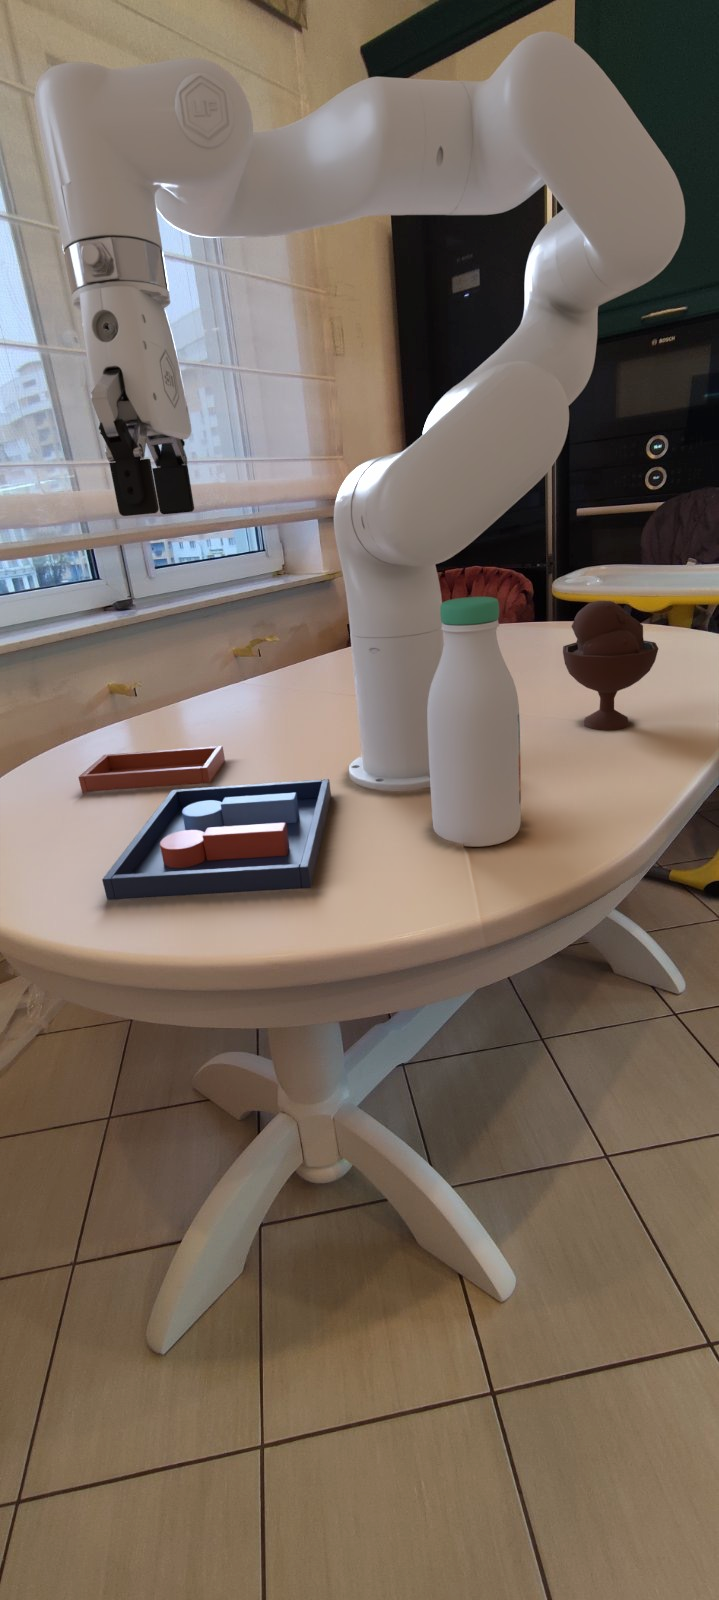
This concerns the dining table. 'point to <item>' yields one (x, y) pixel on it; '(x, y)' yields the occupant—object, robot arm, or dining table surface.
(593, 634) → the ice cream bowl
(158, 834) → the navy tray
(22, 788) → the dining table surface
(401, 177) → the robot arm
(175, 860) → the red spoon
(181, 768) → the terracotta tray
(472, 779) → the milk bottle
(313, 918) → the dining table surface
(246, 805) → the blue spoon
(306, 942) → the dining table surface
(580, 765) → the dining table surface
